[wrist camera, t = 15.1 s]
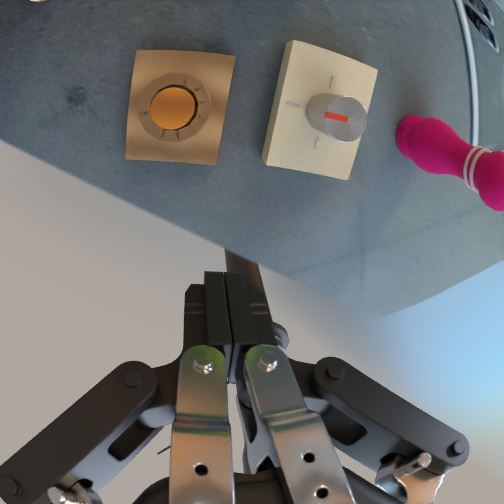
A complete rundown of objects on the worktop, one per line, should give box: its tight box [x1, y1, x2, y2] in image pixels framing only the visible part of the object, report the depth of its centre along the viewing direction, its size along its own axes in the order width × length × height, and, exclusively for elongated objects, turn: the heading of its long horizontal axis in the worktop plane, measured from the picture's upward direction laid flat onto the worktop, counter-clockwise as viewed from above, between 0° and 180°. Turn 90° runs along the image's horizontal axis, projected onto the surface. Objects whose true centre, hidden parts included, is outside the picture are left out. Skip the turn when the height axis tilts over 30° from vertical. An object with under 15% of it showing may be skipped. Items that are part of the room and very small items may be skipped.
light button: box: [150, 87, 195, 130], centre depth 22 cm, size 4×4×2 cm
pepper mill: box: [396, 115, 504, 211], centre depth 22 cm, size 7×7×20 cm
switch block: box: [125, 50, 236, 166], centre depth 24 cm, size 12×10×4 cm
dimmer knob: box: [306, 93, 367, 142], centre depth 23 cm, size 4×4×5 cm
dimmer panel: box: [261, 40, 378, 180], centre depth 26 cm, size 14×10×3 cm
